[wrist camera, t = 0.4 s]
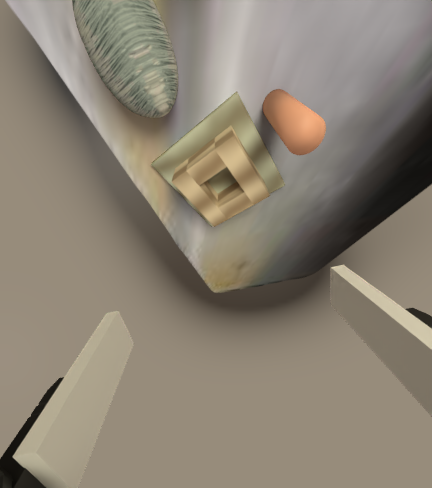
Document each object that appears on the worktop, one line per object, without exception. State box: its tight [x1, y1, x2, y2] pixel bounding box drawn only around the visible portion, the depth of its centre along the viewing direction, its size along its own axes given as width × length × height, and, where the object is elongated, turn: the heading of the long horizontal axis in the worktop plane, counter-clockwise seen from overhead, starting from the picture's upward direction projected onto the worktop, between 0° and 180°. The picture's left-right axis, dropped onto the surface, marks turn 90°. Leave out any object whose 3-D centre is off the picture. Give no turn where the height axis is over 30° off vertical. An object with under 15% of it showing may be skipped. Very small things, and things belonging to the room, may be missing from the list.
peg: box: [263, 89, 326, 155], centre depth 26 cm, size 4×4×14 cm
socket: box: [151, 92, 285, 227], centre depth 37 cm, size 18×18×6 cm
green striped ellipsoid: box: [72, 0, 178, 118], centre depth 24 cm, size 14×10×10 cm
